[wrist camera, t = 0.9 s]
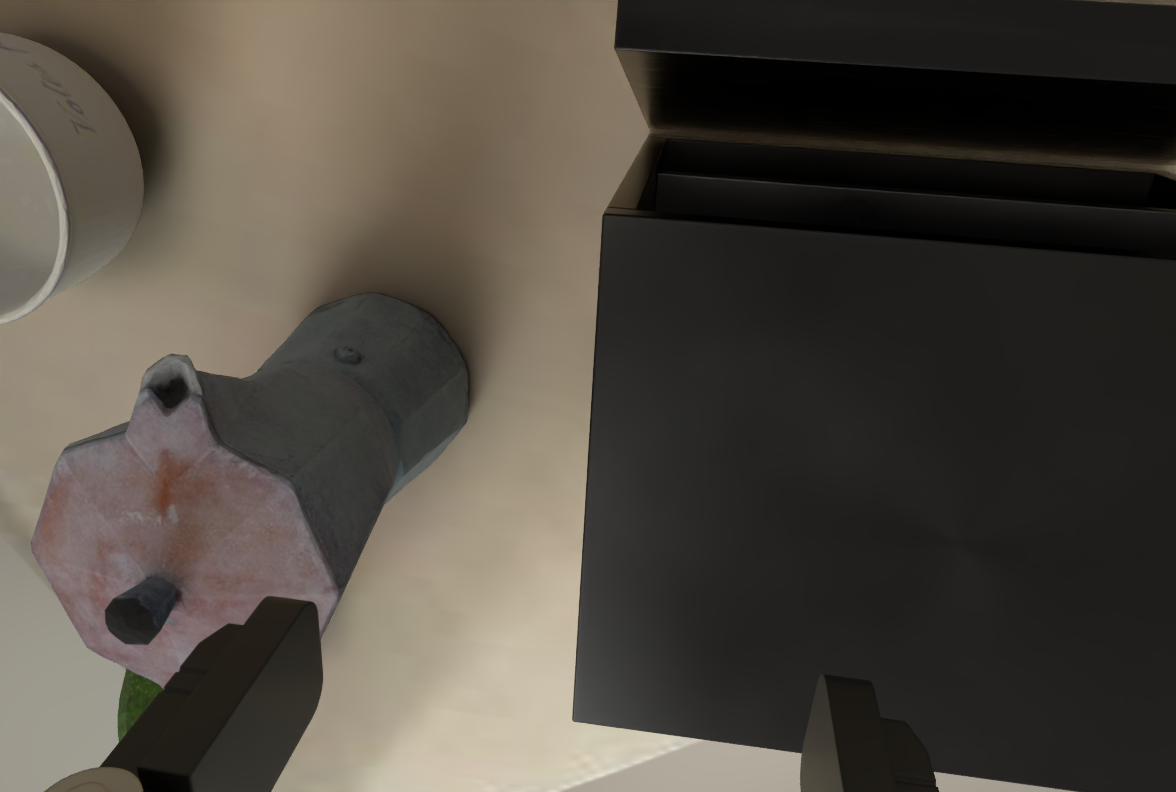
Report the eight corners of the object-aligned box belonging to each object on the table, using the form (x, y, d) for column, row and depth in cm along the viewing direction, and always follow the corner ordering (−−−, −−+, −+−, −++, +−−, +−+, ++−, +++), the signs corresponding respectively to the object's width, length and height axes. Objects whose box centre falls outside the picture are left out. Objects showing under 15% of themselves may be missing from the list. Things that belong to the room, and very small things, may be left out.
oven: (648, 134, 36) (602, 213, 21) (1167, 171, 34) (1506, 286, 19) (621, 480, 42) (571, 722, 28) (1057, 528, 40) (1250, 816, 26)
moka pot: (477, 231, 39) (261, 423, 20) (489, 535, 45) (332, 893, 26) (269, 223, 40) (-112, 398, 21) (308, 521, 46) (38, 854, 27)
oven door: (660, -14, 35) (635, -210, 19) (1203, 16, 33) (1656, -177, 17) (647, 128, 36) (613, 49, 20) (1173, 165, 34) (1576, 109, 18)
